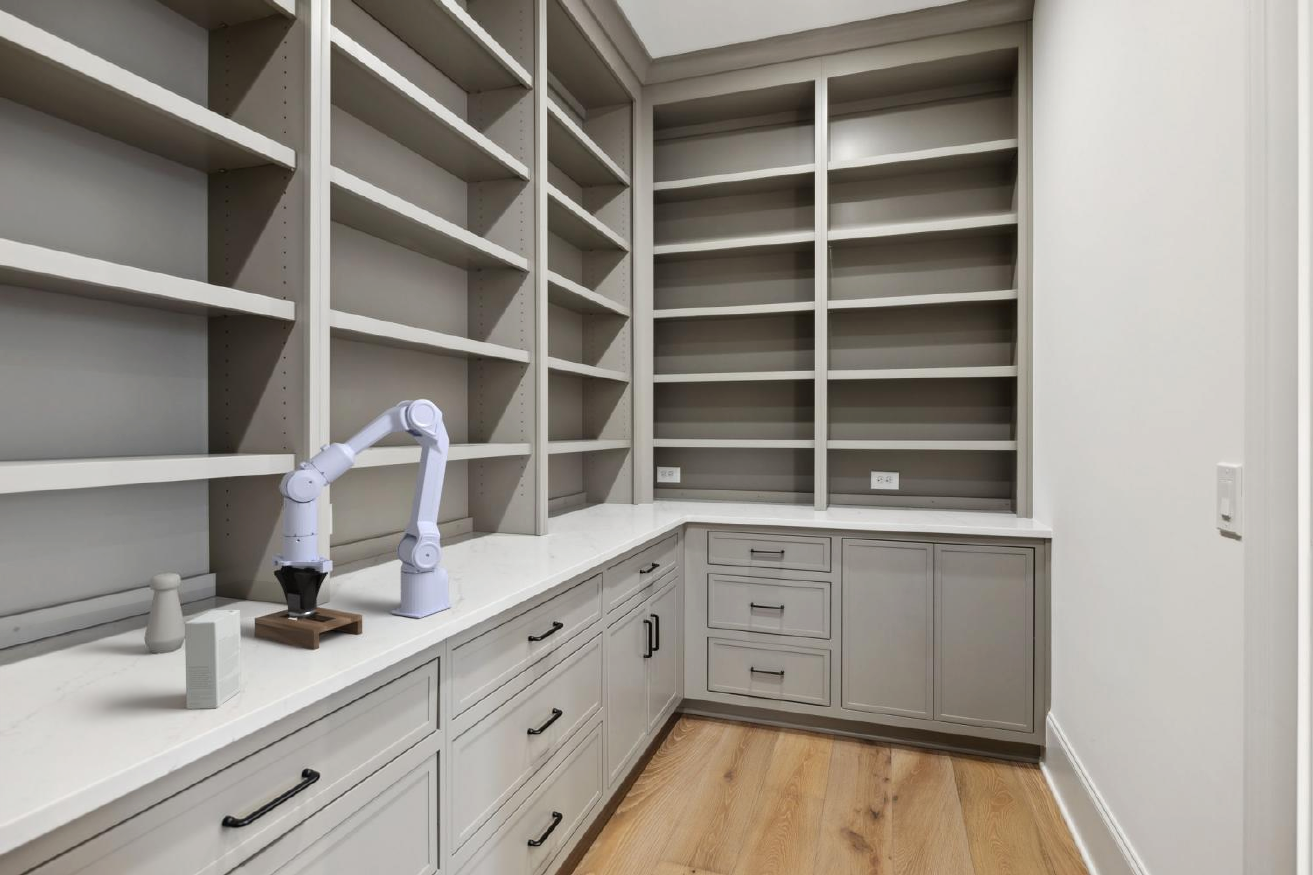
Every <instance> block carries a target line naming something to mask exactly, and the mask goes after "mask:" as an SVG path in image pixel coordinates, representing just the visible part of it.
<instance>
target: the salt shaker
mask: <svg viewBox="0 0 1313 875" xmlns="http://www.w3.org/2000/svg"><path fill="white" fill-rule="evenodd" d="M149 580H150V581H149V588H150V590H152V591H154V592H153V596H152V602H151V605H150V612H149V616H148V621H147V625H146V629H145V633H144V634H145V635H144V637H143V638H144V639H143V640H144V643H145V645H146V646H147V648H148V650H149V652H150V653H151V654H158V653H161V654H165V653H171V652H175V651H177V650H179V649H181V648H182V646H183V643H184V642H185V620H184V615H183V612H182V607H181V603H180V598H179V592H178V588H179V587H181V583H182V578H181V576H180V575H179V574H178V573H173V572H167V573H160V574H159V573H158V574H155V575H154V576H152V577H151V578H150V579H149Z"/></svg>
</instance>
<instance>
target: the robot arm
mask: <svg viewBox="0 0 1313 875" xmlns="http://www.w3.org/2000/svg"><path fill="white" fill-rule="evenodd" d="M403 431H404V432H406V433H407V434H410V436H412V438H414V439H415V440H416V442H417V443H418V444H419V445H420V447H421V451H420V460H419V464H418V465H419V466H418V471H417V476H416V477H417V478H416V483H415V490H414V495H413V502H412V507H411V514H410V520H409V522H408V523H407V525H406V526H405V527H404V531H403V534H402V537H401V539H400V540H399V541H398V543H397V546H396V556H397V557H398V560H400V561H401V562H402V563H401V566H400V607H399V608H397V609H394V610H391V612H390V613H391V615H392V614H393V615H397V616H403V617H408V618H409V617H410V618H416V619H421V618H425V617H426V616H430V615H432V614H436V613H439V612H441V611H443V610H446V609H451V608H452V606H453V605H452V604H450V603H449V602H450V589H449V588H450V586H449V585H450V584H449V582H450V579H449V578H450V577H449V574H448V571H447V570H446V568H444V566H442V565H439V563H440V562H441V559H442V556H443V551H442V547H441V543H440V539H441V533H440V530H439V527H438V525H437V522H438V517H439V510H440V504H441V498H442V491H443V485H444V479H445V472H446V467H447V461H448V454H449V449H450V448H449V447H450V438H449V436H448V435H449V434H448V432H447V428H446V426H445V424H444V421H443V412H442V411H441V410H440V409H439V408H438V407H437V406H436V405H435V404H434V403H433V402H432V401H431V400H429V399H424V398H422V399H421V398H420V399H416V400H407V399H406V400H402V401H400V402H399V403H397V404H396V405H395V406H393V407H389V408H388V409H386V410H385V411H384V412H383V413H381V414H380V415H378V416H377V417H376V418H374V419H373V420H372V421H371V422H368V424H367V425H366V426H364V427H363V428H362V429H361V430H359V431H358V432H357V433H355V434H354V435H352V437H351V438H349V439H348V440H346V441H345V442H344V443H338V442H332V443H331V444H327V443H326V444H323V445H322V446H321V447H320V448H319V449H320V450H321V451H319V452H318V453H317V454H316V455H314V456H312V457H311V458H310V459H308V460H307V461H301V462H300V463H298V467H299V468H300V469H292V470H291V471H288V472H287V473H285V475H284V476H283V477H282V479H281V482H280V484H279V485H278V487H279V491H280V493H281V494H282V496H284V497H283V510H282V531H283V532H282V538H283V540H282V544H283V545H282V546H283V547H282V548H283V549H282V550H283V551H282V552H283V553H277V554H271V555H270V566H273V567H277V566H281V567H280V569H276V570H274V571H273V575H274V577H276V579H277V581H278V583H279V585H280V586H281V590H283V594H284V598H285V601H286V605H287V606H288V593H291V592H295V591H299V590H300V599H301V606H302V609H303V610H307V609H310V608H314V607H315V604H316V600H317V601H318V596H319V593H320V590H321V587H322V584H323V583H324V580H325V579H326V577H327V576H328V574H329V573H330V572H333V560H332V559H331V560H330V559H326V558H325V557H323V556H321V555H319V509H318V498H319V496H320V495H321V493H322V491H323V487H328V486H329V485H330V484H331V483H332V482H334V481H336V480H337V479H338V478H339V477H340V476H342V475H343V474H345V473H346V472H347V471H349V470H350V469H351V468H353V467H354V465H355V460H356V457H357V456H358V455H359V454H360V453H362V452H363V451H365V450H367V449H368V448H369V447H371V446H373V445H374V444H375V443H377V442H379V440H381V439H382V438H384V437H386V436H387V435H388V434H390V433H396V432H403Z"/></svg>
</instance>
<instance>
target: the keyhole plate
mask: <svg viewBox="0 0 1313 875" xmlns="http://www.w3.org/2000/svg"><path fill="white" fill-rule="evenodd" d="M330 630H331V631H338V632H341V633H343V632H344V633H347V634H348V633H349V634H353V635H357V636H359V635H361V634H363V614H359V613H355V612H354V613H353V612H348V611H341V610H336V609H331V608H326V607H319V606H317V609H316V614H314V615H312V616H309V617H308V620H307V619H299V620H297V619H294V618H290V617H289V612H288V608H287V609H284V610H279V611H276V612H272V613H269V614H266V615H261V616H257V617H254V637H256V638H260V639H264V640H269V641H273V642H277V643H282V644H287V645H292V646H296V647H301V648H305V649H309V650H317V649H319V648H320V633H323V632H326V631H330Z"/></svg>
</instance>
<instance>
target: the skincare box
mask: <svg viewBox="0 0 1313 875" xmlns="http://www.w3.org/2000/svg"><path fill="white" fill-rule="evenodd" d="M184 624H185V639H184V642H185V644H184V645H185V651H184V652H185V692H186V693H185V696H186V700H185V701H186V709H187V710H196V709H197V710H198V709H200V710H201V709H217V708H219V707H220V706H221V705H223V704H224V703H226V702H228V701H229V700H230V699H232V698H233V697H234V696H235V695H238V693H240V692H241V691H242V652H241V651H242V648H241V647H242V646H241V644H242V641H241V610H240V609H217V610H216V609H215V610H209V611H208V612H205V613H204V614H201V615H199V616H197V617H195V618H193V619H191V620H188V621H186V622H184Z"/></svg>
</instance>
